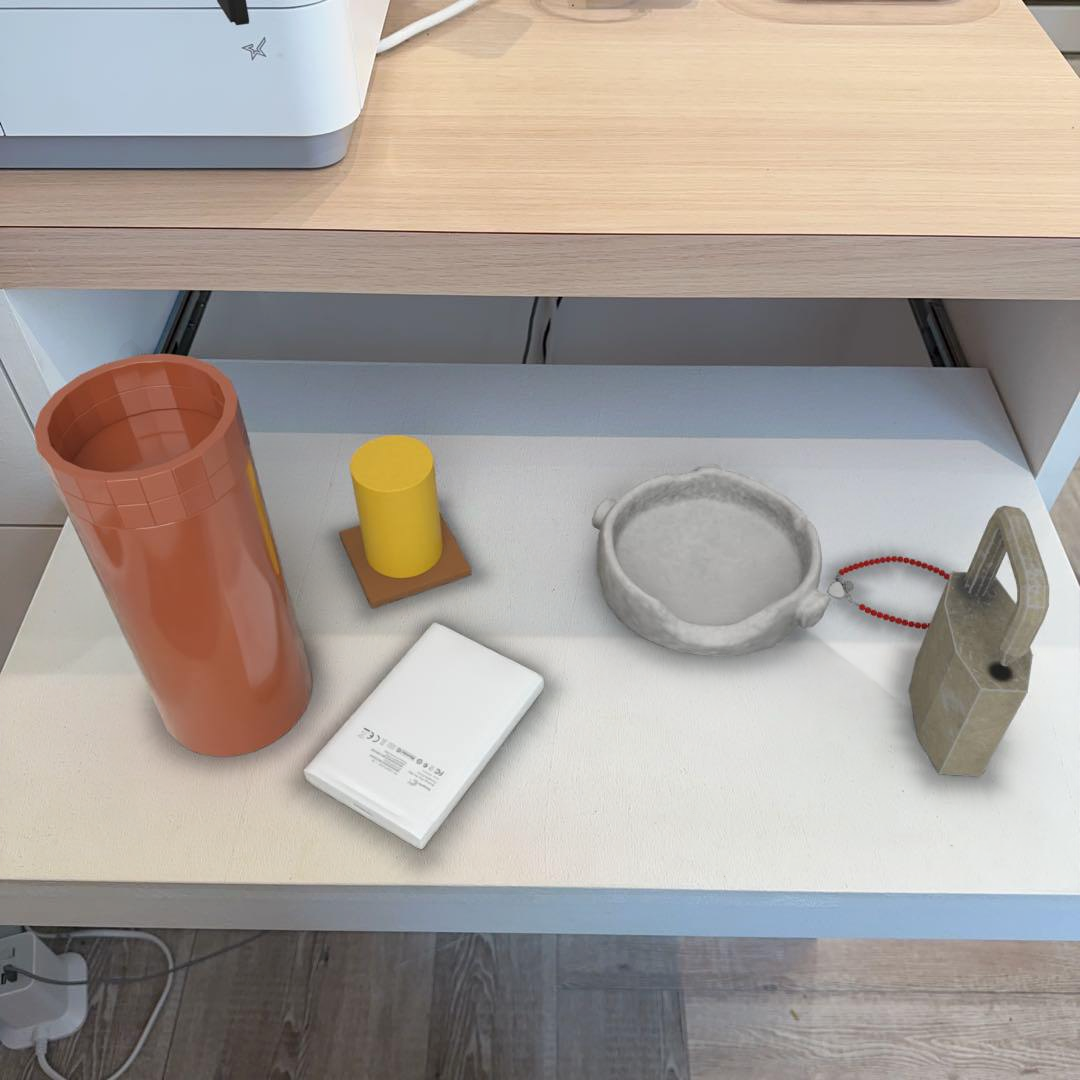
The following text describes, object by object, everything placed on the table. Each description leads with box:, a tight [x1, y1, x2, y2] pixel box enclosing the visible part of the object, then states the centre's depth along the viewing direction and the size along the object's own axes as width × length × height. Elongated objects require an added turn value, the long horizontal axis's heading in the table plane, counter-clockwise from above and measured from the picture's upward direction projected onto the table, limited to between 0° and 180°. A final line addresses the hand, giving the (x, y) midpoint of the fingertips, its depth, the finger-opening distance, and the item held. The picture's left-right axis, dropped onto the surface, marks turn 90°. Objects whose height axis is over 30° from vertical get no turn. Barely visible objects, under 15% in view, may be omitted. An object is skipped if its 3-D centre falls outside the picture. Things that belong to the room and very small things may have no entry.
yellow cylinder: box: [349, 434, 443, 578], centre depth 70 cm, size 5×5×8 cm
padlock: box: [908, 505, 1050, 778], centre depth 59 cm, size 4×8×15 cm, turn 176°
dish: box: [591, 463, 831, 657], centre depth 69 cm, size 14×14×5 cm
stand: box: [33, 353, 313, 757], centre depth 57 cm, size 9×9×22 cm
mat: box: [338, 511, 472, 609], centre depth 73 cm, size 7×7×1 cm
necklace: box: [826, 555, 950, 630], centre depth 70 cm, size 9×6×1 cm
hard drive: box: [303, 622, 545, 850], centre depth 63 cm, size 2×8×12 cm
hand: (114, 30), depth 43 cm, fingers open, 9 cm apart
